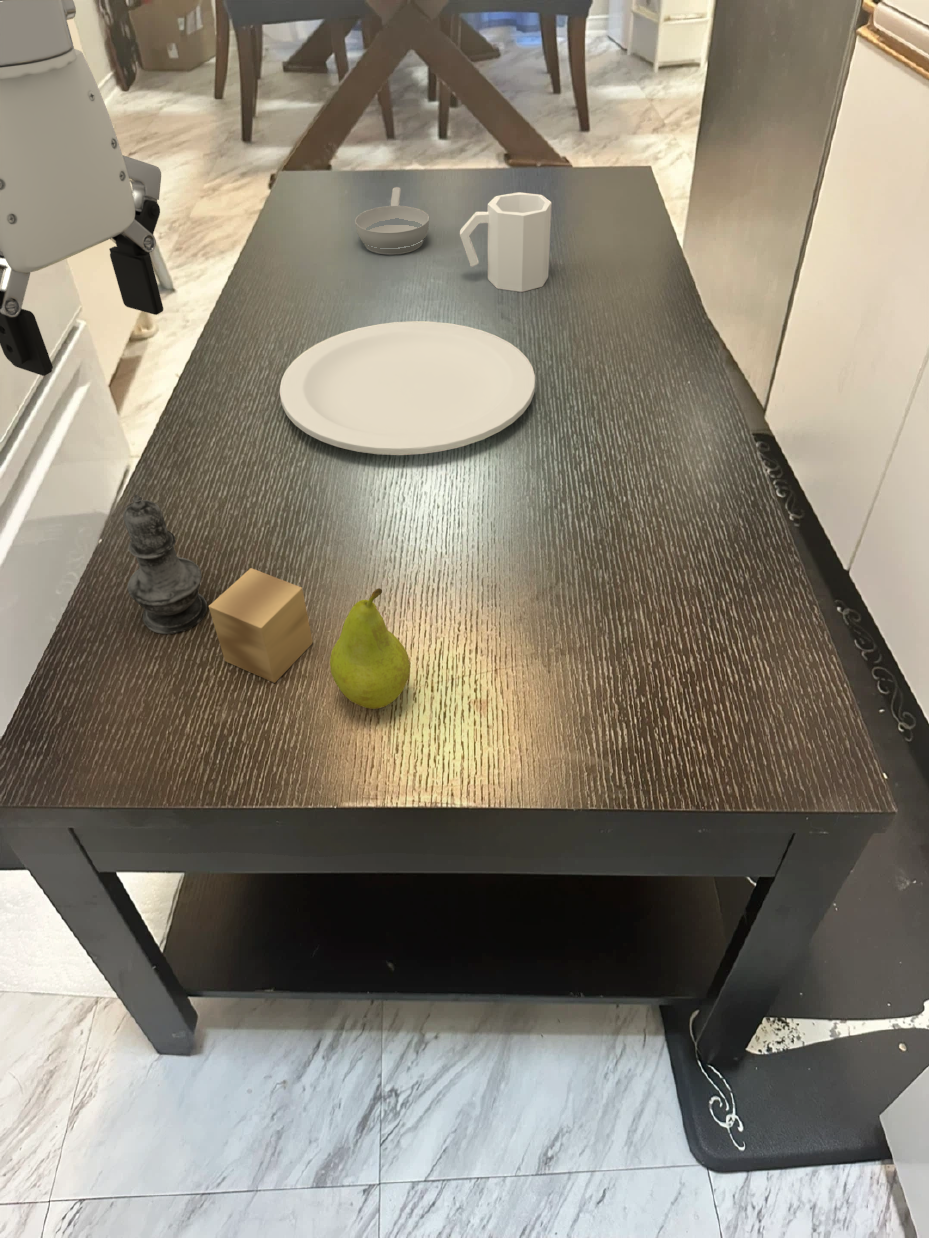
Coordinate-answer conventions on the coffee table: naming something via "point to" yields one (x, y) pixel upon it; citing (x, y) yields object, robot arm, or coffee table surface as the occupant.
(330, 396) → the plate
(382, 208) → the small pan
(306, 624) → the maple block
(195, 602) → the grey chess bishop
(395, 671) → the fruit
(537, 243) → the mug
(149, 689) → the coffee table surface
